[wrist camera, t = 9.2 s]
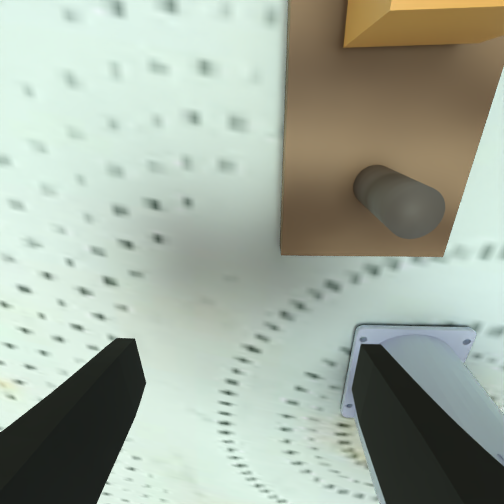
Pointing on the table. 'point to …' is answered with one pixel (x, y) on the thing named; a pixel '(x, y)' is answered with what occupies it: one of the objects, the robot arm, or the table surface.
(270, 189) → the table surface
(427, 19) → the wooden toy cube
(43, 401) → the robot arm
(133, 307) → the table surface
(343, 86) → the wooden peg board
